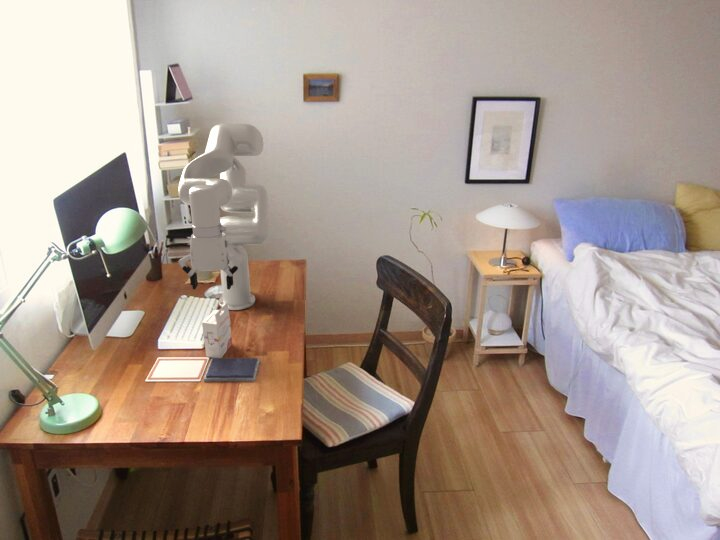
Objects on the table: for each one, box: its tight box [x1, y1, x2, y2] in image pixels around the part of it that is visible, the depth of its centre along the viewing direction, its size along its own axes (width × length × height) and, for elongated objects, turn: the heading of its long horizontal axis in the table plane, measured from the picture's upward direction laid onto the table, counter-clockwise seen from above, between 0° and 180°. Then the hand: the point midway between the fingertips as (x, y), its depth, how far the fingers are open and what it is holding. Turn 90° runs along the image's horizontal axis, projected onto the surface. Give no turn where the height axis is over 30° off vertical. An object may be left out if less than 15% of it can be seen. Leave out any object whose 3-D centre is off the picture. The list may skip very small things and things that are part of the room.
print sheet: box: [144, 356, 211, 383], centre depth 160 cm, size 12×15×1 cm
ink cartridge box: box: [201, 303, 233, 359], centre depth 167 cm, size 9×5×15 cm, turn 168°
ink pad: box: [203, 357, 261, 383], centre depth 160 cm, size 10×14×2 cm
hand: (212, 287), depth 161 cm, fingers open, 9 cm apart
